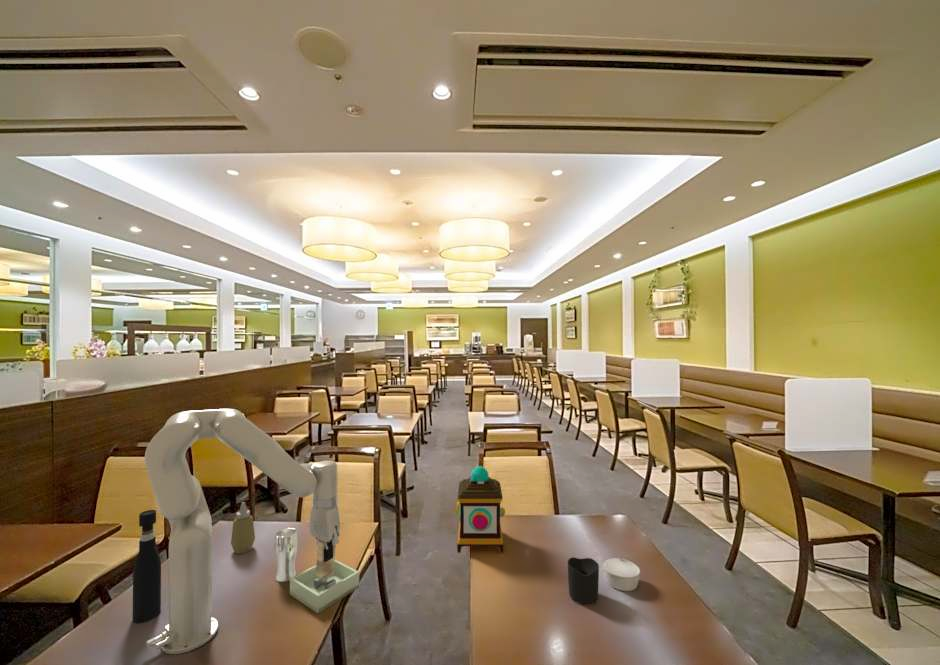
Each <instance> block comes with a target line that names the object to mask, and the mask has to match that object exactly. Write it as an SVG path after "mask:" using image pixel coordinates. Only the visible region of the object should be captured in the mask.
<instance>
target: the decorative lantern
mask: <svg viewBox="0 0 940 665" xmlns="http://www.w3.org/2000/svg"><path fill="white" fill-rule="evenodd" d="M502 502H503V492H502V486H501V482H500V481H499V480H497V479H494V478H491V477H490V476H489V472H488V470H487V469H486V468H485V467H484V466H482V465H477V466H476V467H475V468H474V469H473V470H472V471H471V473H470V476H469V477H468V478H467V479H466V478H464V479H462V480H460V482H459V483H458V492H457V501H456V504H455V506H454V513H455V515H456V516H459V519H460V521H459V522H458V523H459V524H458V532H457V542H456V543H457V544H456V550H457V553H458V554H461V552H462V547H463V548H464V547H498V549H499V551H498V552H499V553H500V554H502V553H504V540H503V532H502V526H501V524H502V523H501V518H502V517H504V516H505V514H506V509H505V508H504V507H501V503H502Z"/></svg>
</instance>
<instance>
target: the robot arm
mask: <svg viewBox="0 0 940 665" xmlns="http://www.w3.org/2000/svg"><path fill="white" fill-rule="evenodd" d="M214 438H216V439H217V440H219V441H220V442H221V443H222V444H224V445H226V447H228V448H230V449H231V450H233V451H234V452H235V453H236V454H238V455H239V456H241V457H243V458H244V459H245V460H246V461H247V462H249V463H251V464H252V465H254V467H255V468H256V469H258V470H259V471H261V473H264V474H265V476H268V478H269V479H271V480H272V481H274V482H275V483H277V485H279V486H280V487H282V489H284V490H286V491H287V492H288V493H290V494H291V495H293V496H295V497H297V498H305V497H308V496H310V495H312V505H311V509H310V515H309V516H310V517H309V534H310V536H312V537H313V538H315V539H316V546H318V541H319V540H321V541H324V542H325V549H324V562H327V561H328V560H330V559H332V558H333V546H334V545H337V544H339V543H340V541H339V537H340V535H341V534H340V533H341V524H340V514H339V513H340V512H339V506H338V504H339V503H338V501H339V499H338V497H339V496H338V464H337V462H336V461H334V460H322V461H318V462H314V463H313V462H311V463H310V462H309V463H299V462H297V460H295V459H294V458H293V457H292V456H291V455H290V454H288V452H286V450H285V449H284V448H283V447H282V446H281V444H279V443H278V441H277V440H275V439H274V438H273V437H272V436H270V435H269V434H267V433H266V432H265V431H264V430H262V429H261V428H260V427H258V426H257V425H256V424H254V422H251V420H249V419H248V418H247V417H245V415H244V414H243V412H242V411H241V410H238V409H235V408H219V409H217V408H216V409H203V410H186V411H184V410H183V411H179V412H177V413H175V414H172V416H170V417H169V418H168V419H167V421H166V422H165V424H164V426H162V428H161V429H159V431H158V432H157V433H156V434H155V435H153V437H152V439H151V440H150V441H149V443H148V445H147V447H146V448H145V453H144V465H145V468H146V472H147V475H148V479H149V482H150V485H151V489H152V492H153V494H154V497H155V502H156V506H157V509H158V512H159V513H160V515H161V516H163V517H164V518H165V519H166V520H168V524H169V525H170V535H169V540H168V587H169V588H168V600H169V601H168V624H167V625H165V626H164V631H163V632H162V631H161V633H160V634H159V635H157V636H155V637H154V636H153V637H152V638H150V639H148V640H145V647H146V649H147V650H149V649H151V648H154V647H155V650H156V651H157V650H160V649H161V650H162V652H163V653H166V654H168V655H169V654H170V655H178V654H184V653H188V652H191V651H193V650H197V648H200V647H201V646H203V645H205V644H207V643H208V642H209V641H210V640H211V639H212V638H213V637H214V636H215V635H216V633H217V632H218V629H219V622H218V620H217V619H216V618H214V617H213V616H212V614H213V612H212V607H213V606H212V605H213V604H212V601H213V600H212V599H213V598H212V596H213V594H212V593H213V590H212V589H213V588H212V587H213V586H212V585H213V582H212V580H213V577H212V576H213V570H212V569H213V567H212V566H213V525H212V524H213V523H212V516H211V513H210V509H209V507H208V504H207V501H206V497H205V495H204V494H205V493H204V491H203V488H202V486H201V483H200V481H199V479H197V477H196V476H194V475H192V474H191V470H190V467H189V464H188V463H189V462H188V460H187V458H186V453H187V451H188V449H189V448H190V447H191V446H192V445H193V444H194V443H195V442H197V440H202V439H203V440H204V439H214ZM330 540H331V541H330ZM329 541H330V542H329ZM328 542H329V543H328Z"/></svg>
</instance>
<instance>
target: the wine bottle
mask: <svg viewBox="0 0 940 665" xmlns="http://www.w3.org/2000/svg"><path fill="white" fill-rule="evenodd" d="M138 519H139V520H138V521H139V522H138V526H139V527H141V533H140V538H139V541H138V545H139V546H138V549H139V550H138V552H137V555H136V558H135V560H134V565H133V569H132V623H134V624H143V623H144V624H145V623H147V622H150V621H152V620H154V619H155V618H157V617H158V616H159V615H160V613H161V611H162V610H161V609H162V606H161V605H162V560H161V555H160V552H159V550H158V549H157V545H156V543H157V542H156V540H157V539H156V538H157V537H156V533H155V530H154V524H156V523H157V510H155V509H150V510H145V511H141V512H140V513H139V515H138Z"/></svg>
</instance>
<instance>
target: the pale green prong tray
mask: <svg viewBox="0 0 940 665" xmlns="http://www.w3.org/2000/svg"><path fill="white" fill-rule="evenodd" d="M316 565H317V564H316ZM316 565H314V566H311V567H310V568H307V569H306V570H305V569H304V571H302V572H300V573H298V574H296V576H294V577H292V578H290V580H289V595H290V596H291V597H293V598H294V599H295V600H297V601H299V602H300V603H302V604H303V605H305V606H307V607H308V609H309V608H310V609H311V610H312V611H314V612H316V614H319V613H321V612H322V611H324V610H326V609H327V608H329V607H331V606H333V604H335V603H336V602H338V601H340V600H341V599H343V598H344V597H346V596H348V595H349V594H351V593H353V592H354V591H356V590H358V589H359V588H360V571H358V570H357V569H354V568H352V567H351V566H348V565H346V564H345V563H343V562H340V561H339V560H337V559H335V563H334V573H333V574H331V575H329V576H327V582H329V581H330V580H332V579H335V580H336V584H335V585H333V586H331V587H329V588H328V589H326V590H324V591H323V585H322V586H321V587H319V588H317V589H315V588H314V580H315V579H316V578H317V577H316Z"/></svg>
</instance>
